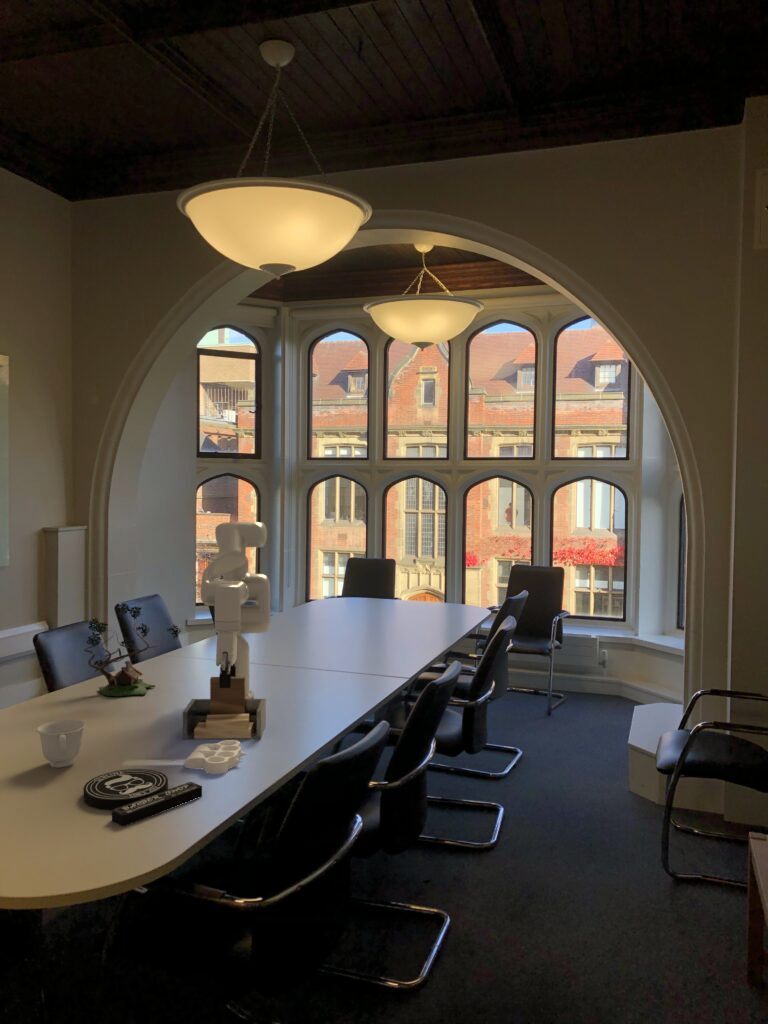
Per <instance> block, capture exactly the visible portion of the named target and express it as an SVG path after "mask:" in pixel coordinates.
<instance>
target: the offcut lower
mask: <svg viewBox="0 0 768 1024" xmlns="http://www.w3.org/2000/svg"><path fill="white" fill-rule="evenodd" d="M253 731H254V722H249V729H229V730H206V722H199V723H198V725H197V726H196V728H195V730H194V738H251V736H252V734H253Z"/></svg>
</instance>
